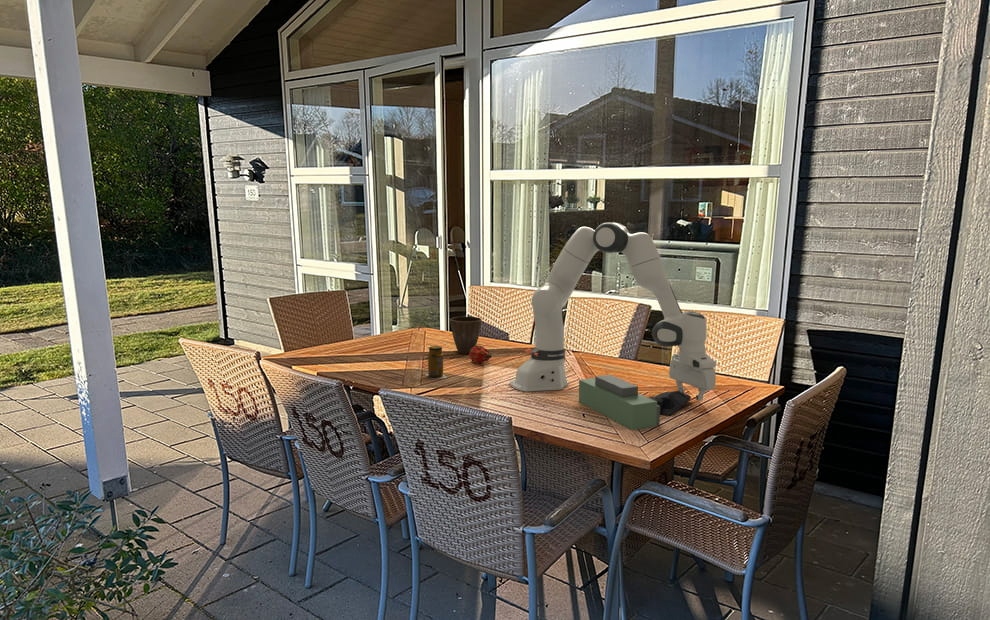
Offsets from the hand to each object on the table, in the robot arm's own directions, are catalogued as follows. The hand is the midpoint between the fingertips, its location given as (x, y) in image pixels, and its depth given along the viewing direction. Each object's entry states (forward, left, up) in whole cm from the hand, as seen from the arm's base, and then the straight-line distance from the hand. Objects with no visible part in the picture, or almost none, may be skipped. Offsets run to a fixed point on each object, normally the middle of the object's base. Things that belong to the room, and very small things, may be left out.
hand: (690, 396), depth 225 cm
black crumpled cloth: (-11, +1, -3) cm, 11 cm away
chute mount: (-30, 0, -2) cm, 30 cm away
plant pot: (-44, +106, -2) cm, 115 cm away
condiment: (-71, +69, -2) cm, 99 cm away
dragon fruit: (-46, +83, -2) cm, 95 cm away
